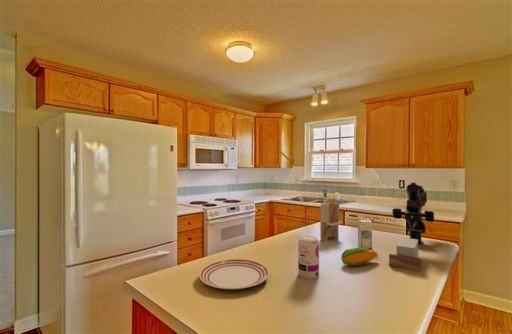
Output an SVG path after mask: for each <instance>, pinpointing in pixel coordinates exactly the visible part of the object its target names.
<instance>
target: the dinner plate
mask: <svg viewBox="0 0 512 334" xmlns="http://www.w3.org/2000/svg"><path fill="white" fill-rule="evenodd" d="M269 276H270V270H269V268H268V266H266V265H265V264H263V263H261V262H259V261H257V260H252V259H245V258H230V259H222V260H218V261H215V262H212V263H209V264H207V265H205V266H204V267H203V268H202V269H201V270H200V272H199V275H198V277H199V279H200V281H201V282H202V283H203V284H205V285H207V286H210V287H212V288H216V289H220V290H243V289H247V288H252V287H255V286H258V285H260V284H262V283H263V282H265V281H266V280H267V279H268V278H269Z"/></svg>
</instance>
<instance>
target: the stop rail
mask: <svg viewBox="0 0 512 334" xmlns="http://www.w3.org/2000/svg"><path fill="white" fill-rule="evenodd" d="M388 266H390V267H395V268H399V269H405V270H410V271H415V272H419V273H420V272H421V271H422V258H420V257H418V258H416V257H410V256H404V255H398V254H397V253H391V252H389V254H388Z"/></svg>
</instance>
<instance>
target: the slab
mask: <svg viewBox="0 0 512 334" xmlns="http://www.w3.org/2000/svg"><path fill="white" fill-rule="evenodd" d="M396 254H398V255H404V256H410V257H416V258H419V244H418V239H410V237H409V238H408V237H400V239H399V241H398V243H397V244H396Z"/></svg>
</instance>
